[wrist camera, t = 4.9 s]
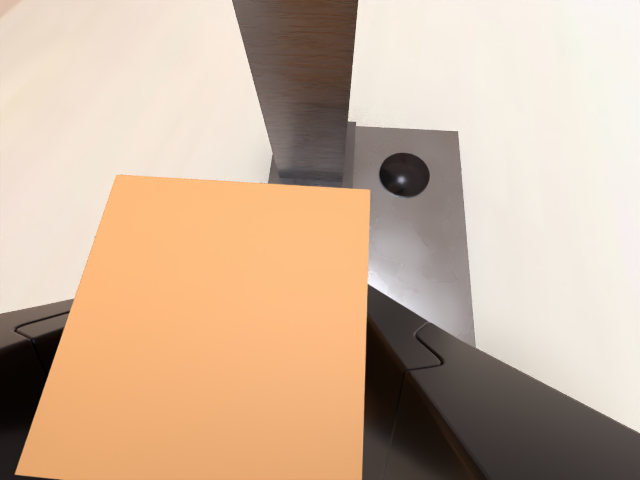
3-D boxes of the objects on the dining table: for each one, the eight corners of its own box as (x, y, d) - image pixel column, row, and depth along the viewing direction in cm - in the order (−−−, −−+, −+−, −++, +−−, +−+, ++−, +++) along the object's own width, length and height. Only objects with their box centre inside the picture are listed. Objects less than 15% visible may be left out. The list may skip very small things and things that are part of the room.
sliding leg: (341, 401, 13) (386, 546, 3) (240, 392, 13) (-22, 503, 3) (346, 299, 14) (389, 174, 4) (255, 292, 14) (104, 158, 5)
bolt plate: (487, 645, 11) (504, 675, 10) (320, 624, 12) (319, 652, 11) (451, 142, 19) (458, 129, 18) (348, 137, 19) (349, 123, 18)
